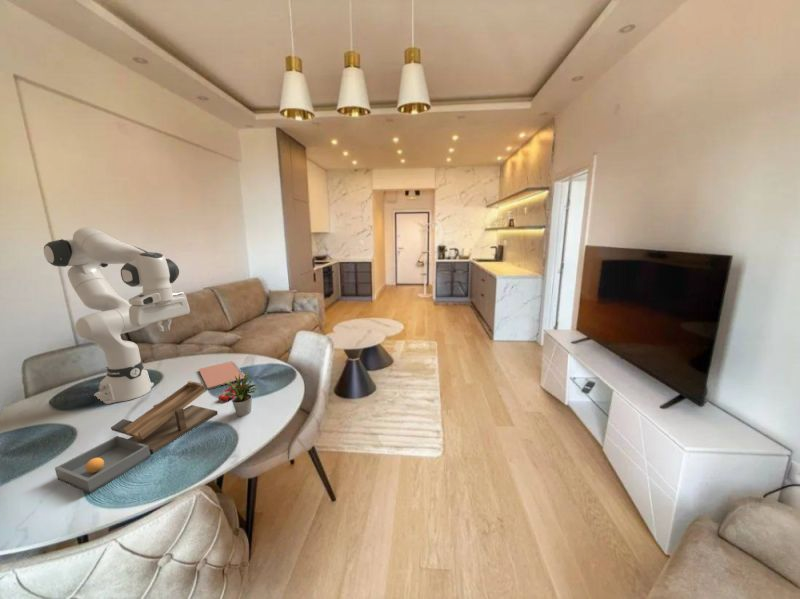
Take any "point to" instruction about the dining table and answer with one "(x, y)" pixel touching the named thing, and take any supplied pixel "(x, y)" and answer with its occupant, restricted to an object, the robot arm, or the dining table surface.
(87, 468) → the ball
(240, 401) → the house plant
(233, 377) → the notebook
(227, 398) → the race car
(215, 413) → the lever stand
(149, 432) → the lever
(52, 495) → the dining table surface
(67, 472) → the tray
